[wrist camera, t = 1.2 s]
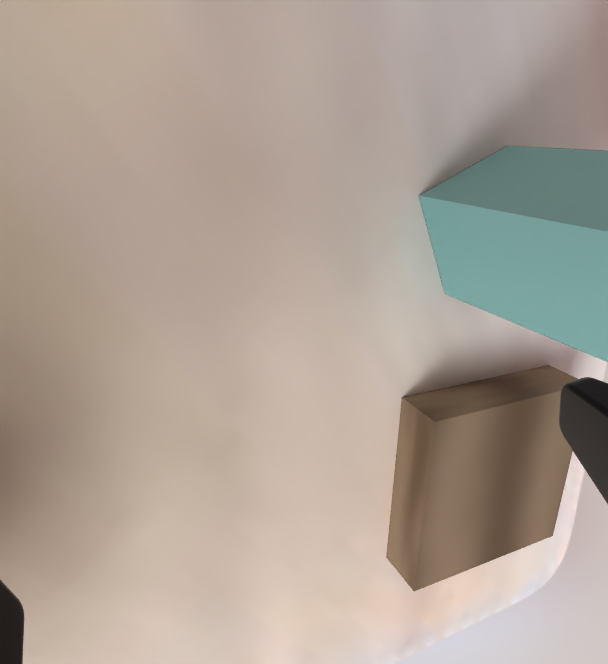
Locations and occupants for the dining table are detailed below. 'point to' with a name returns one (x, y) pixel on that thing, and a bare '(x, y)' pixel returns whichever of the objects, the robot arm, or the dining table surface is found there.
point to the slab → (476, 473)
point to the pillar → (528, 240)
